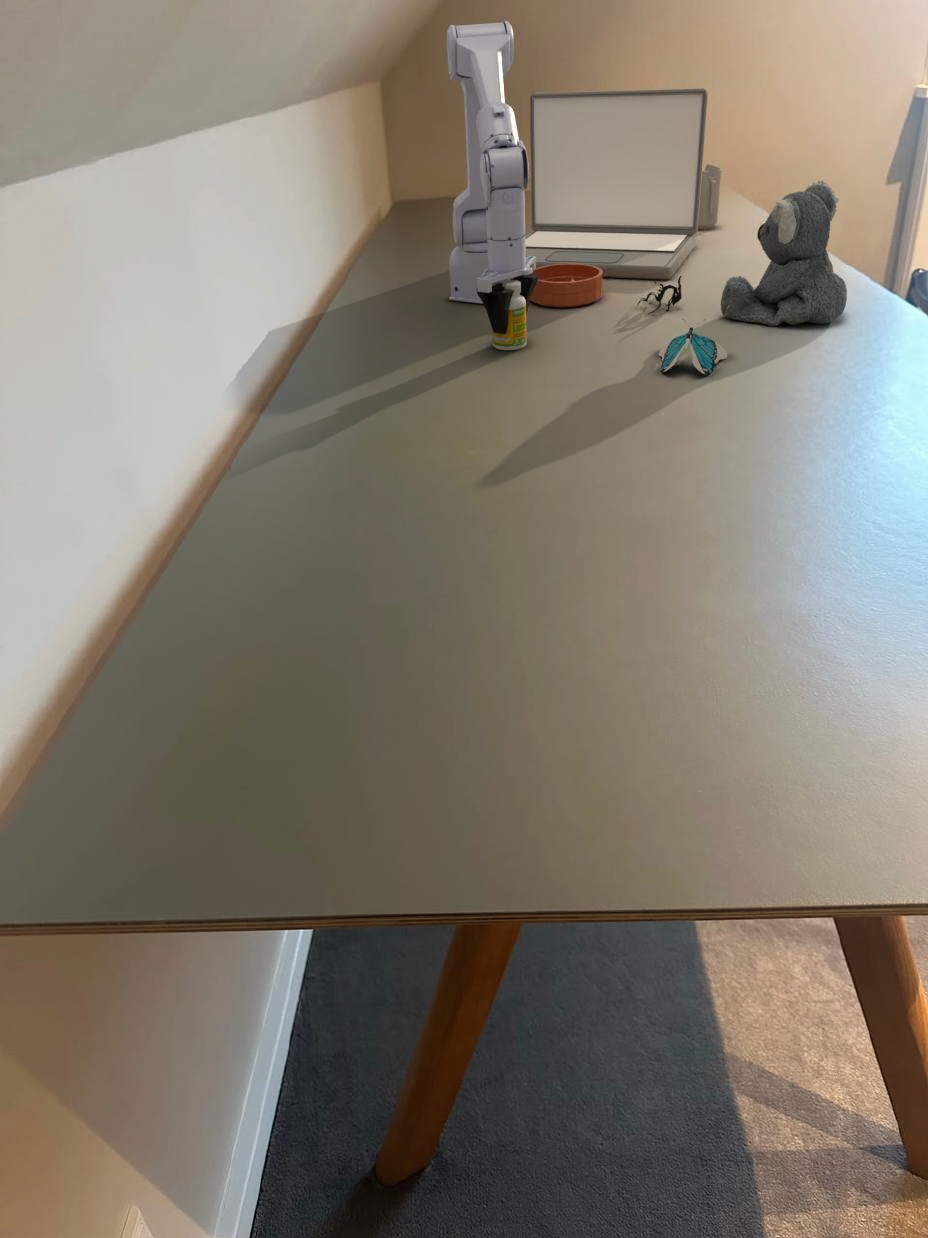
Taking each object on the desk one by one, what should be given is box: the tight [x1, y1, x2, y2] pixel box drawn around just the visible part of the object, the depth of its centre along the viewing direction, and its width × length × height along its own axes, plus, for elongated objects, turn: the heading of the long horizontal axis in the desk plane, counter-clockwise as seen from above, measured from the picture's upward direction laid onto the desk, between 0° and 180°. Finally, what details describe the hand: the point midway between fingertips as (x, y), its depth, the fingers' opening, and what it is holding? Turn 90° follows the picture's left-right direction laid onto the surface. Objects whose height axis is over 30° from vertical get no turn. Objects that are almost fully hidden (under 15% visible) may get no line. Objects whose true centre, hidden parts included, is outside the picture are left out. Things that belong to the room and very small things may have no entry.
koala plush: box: [720, 179, 848, 327], centre depth 149 cm, size 17×18×20 cm
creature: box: [636, 275, 683, 315], centre depth 160 cm, size 8×5×8 cm
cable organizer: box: [698, 163, 723, 230], centre depth 208 cm, size 7×12×12 cm, turn 12°
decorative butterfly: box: [658, 318, 728, 376], centre depth 136 cm, size 10×6×10 cm
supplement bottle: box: [491, 280, 528, 351], centre depth 147 cm, size 5×5×10 cm
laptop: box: [525, 87, 709, 281], centre depth 183 cm, size 36×28×29 cm
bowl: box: [530, 263, 604, 308], centre depth 168 cm, size 13×13×4 cm
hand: (509, 327), depth 148 cm, fingers closed on supplement bottle, 5 cm apart
